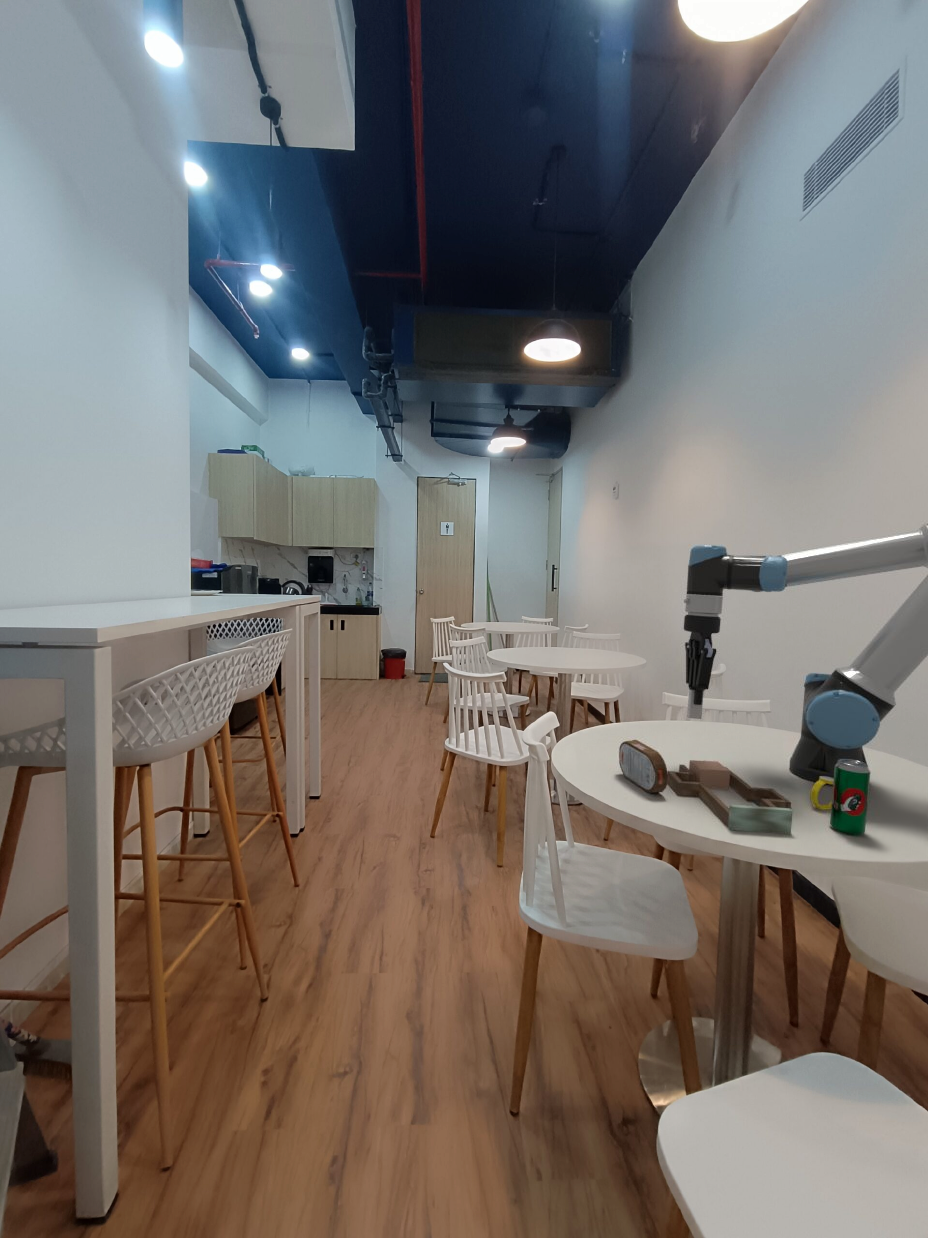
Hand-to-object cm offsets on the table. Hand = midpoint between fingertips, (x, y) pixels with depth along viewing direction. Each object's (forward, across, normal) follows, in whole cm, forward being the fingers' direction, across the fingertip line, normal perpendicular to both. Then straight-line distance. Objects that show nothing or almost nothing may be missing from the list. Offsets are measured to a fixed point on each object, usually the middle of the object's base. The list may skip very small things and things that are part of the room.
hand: (694, 717), depth 127 cm
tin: (+12, +14, -15) cm, 23 cm away
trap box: (+12, +20, 0) cm, 23 cm away
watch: (+12, +20, +18) cm, 30 cm away
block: (+12, +10, 0) cm, 15 cm away
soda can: (+12, +30, +16) cm, 36 cm away
